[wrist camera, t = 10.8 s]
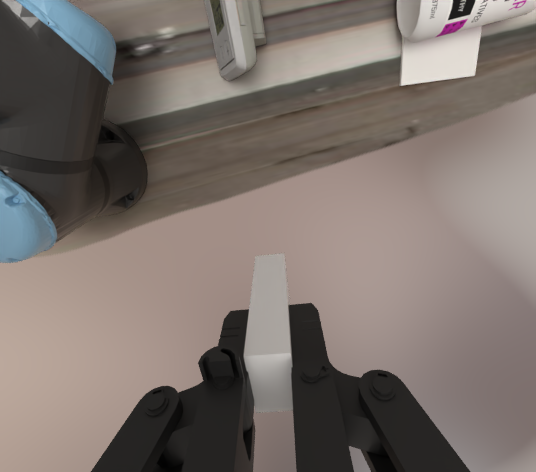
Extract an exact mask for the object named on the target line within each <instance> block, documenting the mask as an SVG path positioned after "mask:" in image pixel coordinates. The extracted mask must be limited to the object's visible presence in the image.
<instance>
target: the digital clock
mask: <svg viewBox="0 0 536 472" xmlns="http://www.w3.org/2000/svg"><path fill="white" fill-rule="evenodd" d="M204 2H205V6H206V11H207V16H208V20H209V25H210V30H211V34H212V39H213V44H214V48H215V53H216V58H217V62H218V67H219V71H220V75H221V76H222V77H223V78H224V79H226V80H228V81H231V80H234V79H235V78H237V77H239V76H241V75H242V74H244V73H246V72H248V71H249V70H251V68H252V67H253V66H254V65H255V63H256V60H257V56H256V49H255V46H260V45H264V44H266V37H265V31H264V24H263V17H262V11H261V4H260V0H204Z"/></svg>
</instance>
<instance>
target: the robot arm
mask: <svg viewBox="0 0 536 472" xmlns="http://www.w3.org/2000/svg"><path fill="white" fill-rule="evenodd" d="M115 55H116V45H115V41H114V39H113V37H112V35H111V33H110V32H109V31H108V30H107V28H106V27H104V26H103V25H102V24H101V23H99V22H98V21H97V20H95V19H94V18H92V17H91V16H89V15H88V14H87V13H85V12H84V11H82V10H80V9H79V8H77V7H76V6H74V5H73V4H71V3H70V2H68V1H67V0H0V263H13V262H18V261H23V260H26V259H28V258H31V257H32V256H34V255H36V254H38V253H40V252H42V251H46V250H48V249H50V248H51V247H52V246H54V244H55V243H56V242H58V241H59V240H61V239H62V238H64V237H65V236H67V235H68V234H70V233H71V232H73V231H74V230H76V229H77V228H79V227H80V226H82V225H83V224H85V223H86V222H88V221H89V220H91V219H92V218H94V217H98V216H108V215H114V214H118V213H120V212H123V211H125V210H126V209H128V208H129V207H131V206H132V205H133V204H135V203H136V202H137V201H138V200H139V199H140V197H141V196H142V194H143V192H144V190H145V187H146V183H147V168H146V163H145V160H144V157H143V155H142V153H141V151H140V149H139V147H138V146H137V144H136V143H135V141H134V140H133V139H132V138H131V137H130V136H129V135H128V134H127V133H126V132H125V131H124V130H122V129H121V128H120V127H118V126H116V125H115V124H113V123H111V122H109V121H106V120H103V115H104V110H105V106H106V101H107V96H108V92H109V87H110V85H113V78H112V73H113V67H114V61H115ZM198 364H199V367H200V371H201V374H202V377H203V380H204V381H203V382H202V383H200V384H199V385H197V386H195V387H193V388H190V389H187V390H184V391H181V392H179V393H178V392H177V391H176V390H175V388H172V387H170V386H161V387H158V388H155V389H153V390H151V391H150V392H148V393H147V394H146V395H145V396H144V397H143V398H142V399H141V400H140V401H139V402H138V404H137V405H136V407H135V408H134V410H133V411H132V413H131V414H130V416H129V417H128V418H127V420H126V421H125V423H124V424H123V426H122V427H121V429H120V430H119V432H118V433H117V434H116V436H115V438H114V439H113V440H112V442H111V443H110V445H109V446H108V448H107V449H106V451H105V452H104V453H103V455H102V456H101V458H100V459H99V461H98V462H97V464H96V465H95V467H94V468H93V469H92V471H91V472H253V460H254V442H255V441H254V440H255V425H254V419H253V413H254V407H255V412H256V413H261V412H277V411H293V414H294V415H293V416H294V433H295V450H296V468H297V472H354V470H353V465H352V461H351V456H350V451H349V446H352V447H355V448H358V449H361V451H362V453H363V455H364V457H365V460H366V461H367V464H368V466H369V468H370V470H371V472H470V471H469V469H468V468H467V467H466V465H465V464H464V463H463V462H462V460H461V459H460V458H459V456H458V455H457V453H456V452H455V451H454V449H453V448H452V447H451V446H450V444H449V443H448V441H447V440H446V439H445V437H444V436H443V435H442V434H441V432H440V431H439V430H438V429H437V427H436V426H435V424H434V423H433V422H432V420H431V419H430V418H429V416H428V415H427V414H426V413H425V411H424V410H423V409H422V407H421V406H420V405H419V403H418V402H417V401H416V399H415V398H414V397H413V395H412V394H411V392H410V391H409V390H408V388H407V387H406V386H405V384H404V383H403V382H402V381H401V380H400V379H399V378H398V377H397V376H395V375H394V374H392V373H390V372H387V371H383V370H371V371H369V372H367V373H365V374H363V376H362V377H361V378H359V377H354V376H350V375H347V374H343V373H341V372H340V371H338V370H336V369H335V368H334V367H333V366H332V365H331V363H330V362H329V359H328V356H327V351H326V347H325V341H324V337H323V332H322V328H321V322H320V318H319V313H318V310H317V309H316V308H315V306H314V305H313V304H312V303H307V304H296V305H290V300H289V290H288V281H287V273H286V264H285V255H284V253H282V254H272V255H261V256H256V257H255V265H254V273H253V281H252V289H251V298H250V307H249V309H248V310H236V311H230V313H229V314H228V315H227V316H226V318H225V319H224V322H223V326H222V331H221V335H220V339H219V344H218V346H217V347H214V348H212V349H210V350H208V351H207V352H205V353H204V354H203V356H201V358H200V360H199V362H198Z"/></svg>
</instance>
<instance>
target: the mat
mask: <svg viewBox="0 0 536 472" xmlns="http://www.w3.org/2000/svg"><path fill="white" fill-rule="evenodd" d="M481 30H482V26H478V27H474V28H470V29H466V30H462V31H458V32H454V33H450V34H446V35H442V36H438V37H434V38H430V39H426V40H422V41H418V42H409V40H408V39H407V38H404V37H403V36H402V46H401V64H400V83H399V86H402V85H410V84H417V83H424V82H432V81H439V80H446V79H454V78H461V77H468V76H475V70H476V63H477V57H478V50H479V43H480V37H481Z"/></svg>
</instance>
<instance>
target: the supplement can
mask: <svg viewBox="0 0 536 472" xmlns="http://www.w3.org/2000/svg"><path fill="white" fill-rule="evenodd" d="M534 9H536V0H397V20H398V26H399V29H400V32H401V34H402V36H403V37H404V38H407V39H408V40H409V42H418V41H422V40H426V39H430V38H434V37H438V36H442V35H446V34H450V33H454V32H458V31H462V30H466V29H470V28H474V27H478V26H482V25H485V24H489V23H493V22H497V21H501V20H505V19H509V18H513V17H517V16H521V15H525V14H527V13H529V12H531V11H533V10H534Z"/></svg>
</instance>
